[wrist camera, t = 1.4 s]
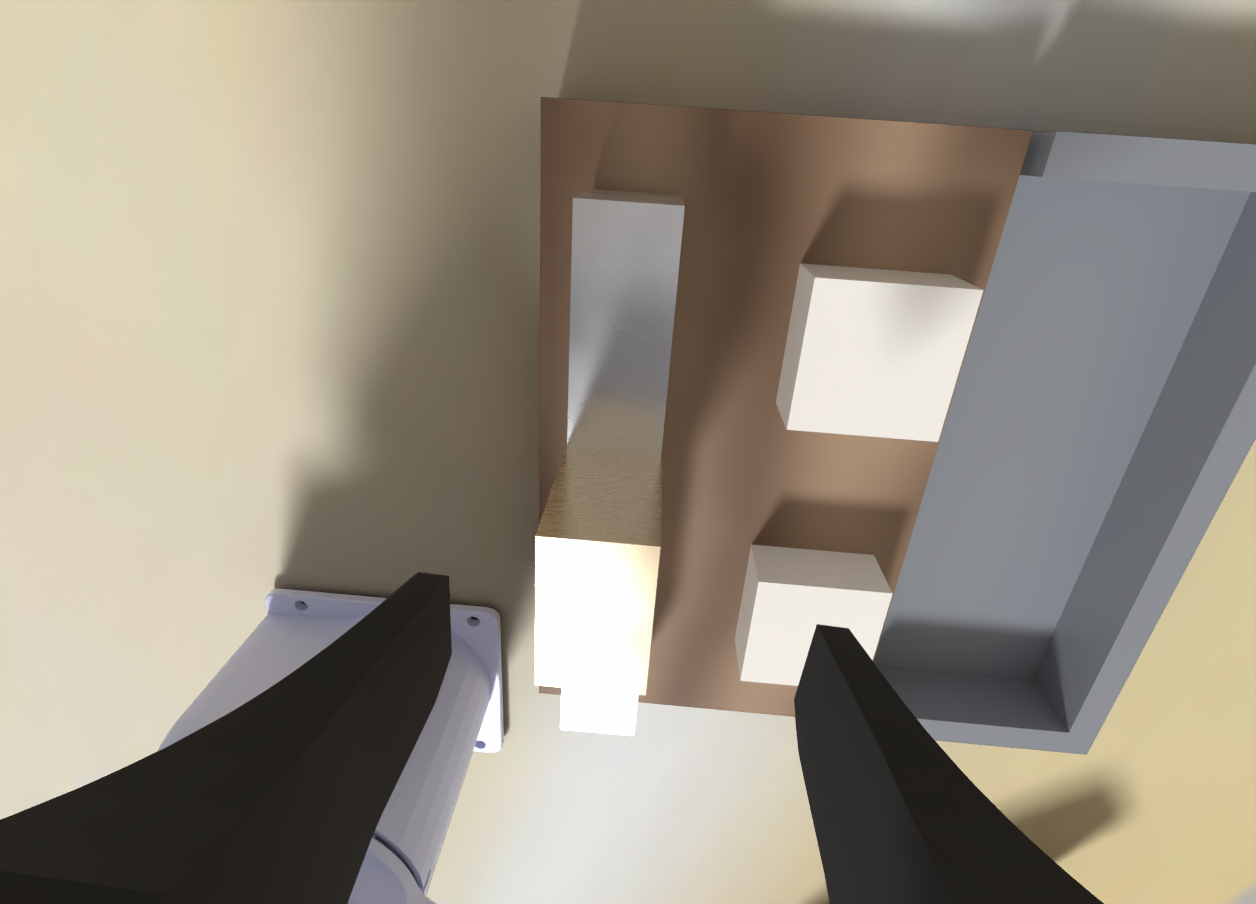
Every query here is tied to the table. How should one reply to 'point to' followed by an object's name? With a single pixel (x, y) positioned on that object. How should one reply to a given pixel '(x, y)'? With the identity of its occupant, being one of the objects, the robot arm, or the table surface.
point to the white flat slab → (609, 461)
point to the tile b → (874, 351)
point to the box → (1081, 438)
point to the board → (761, 338)
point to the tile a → (804, 607)
